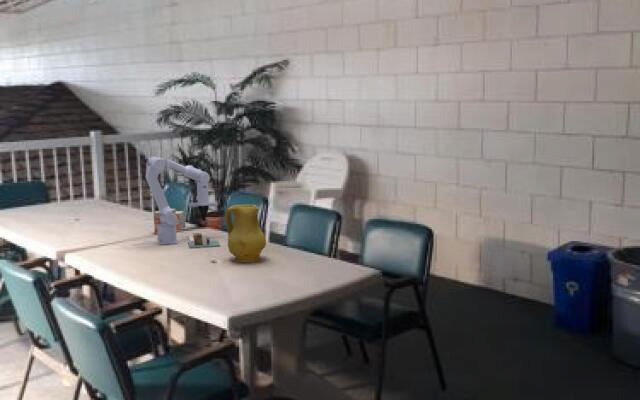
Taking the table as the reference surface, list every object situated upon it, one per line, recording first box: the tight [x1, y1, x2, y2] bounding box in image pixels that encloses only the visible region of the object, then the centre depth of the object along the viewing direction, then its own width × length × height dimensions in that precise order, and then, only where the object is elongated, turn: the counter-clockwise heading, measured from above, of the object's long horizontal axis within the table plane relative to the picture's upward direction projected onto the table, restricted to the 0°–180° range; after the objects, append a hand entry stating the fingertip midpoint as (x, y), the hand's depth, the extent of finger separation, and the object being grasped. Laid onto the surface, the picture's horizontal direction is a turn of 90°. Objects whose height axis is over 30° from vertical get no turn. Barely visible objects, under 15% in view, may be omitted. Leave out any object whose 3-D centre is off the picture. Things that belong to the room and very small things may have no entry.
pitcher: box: [224, 204, 267, 264], centre depth 295 cm, size 17×19×25 cm
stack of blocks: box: [153, 208, 186, 235], centre depth 359 cm, size 21×6×12 cm, turn 160°
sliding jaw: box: [202, 234, 211, 246], centre depth 325 cm, size 4×10×3 cm, turn 15°
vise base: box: [187, 235, 221, 249], centre depth 325 cm, size 15×12×4 cm
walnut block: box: [192, 232, 203, 245], centre depth 324 cm, size 4×5×5 cm
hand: (203, 220), depth 339 cm, fingers closed
